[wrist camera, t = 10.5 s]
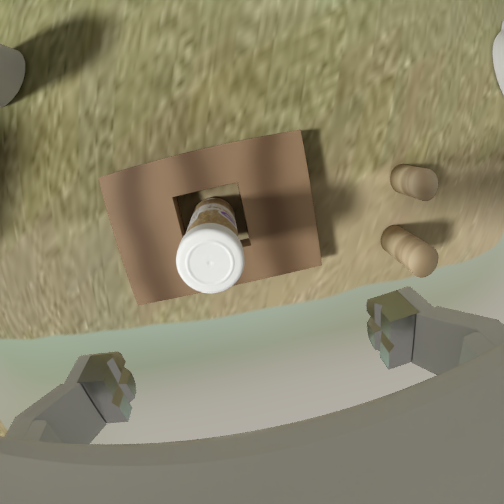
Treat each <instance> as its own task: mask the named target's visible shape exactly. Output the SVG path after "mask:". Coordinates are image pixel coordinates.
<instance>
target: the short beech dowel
mask: <svg viewBox="0 0 504 504" xmlns="http://www.w3.org/2000/svg"><path fill="white" fill-rule="evenodd" d="M390 182H391V185H392V187H393V189H394V190H395V191H397V192H399V193H402V194H405V195H408V196H411V197H414V198H417V199H420V200H422V201H428V200H430V199H432V198H433V197H434V196H435V194H436V193H437V190H438V179H437V176H436V174H435V173H434V172H433V171H432V170H430V169H427V168H421V167H416V166H410V165H405V164H400V165H397V166H396V167H395V168H394V169H393V170H392V172H391V176H390Z"/></svg>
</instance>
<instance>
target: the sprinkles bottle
mask: <svg viewBox="0 0 504 504" xmlns="http://www.w3.org/2000/svg"><path fill="white" fill-rule="evenodd" d="M244 262H245V261H244V251H243V247H242V244H241V242H240V240H239V238H238V231H237V226H236V221H235V213H234V210H233V209H232V207H231V205H230V204H229V203H228V202H227V201H225V200H223V199H220V198H207V199H205V200H203V201H201V202H200V203H199V204H198V205H196V207H195V209H194V211H193V213H192V217H191V220H190V223H189V226H188V228H187V231H186V234H185V235H184V236H183V238H182V240H181V242H180V244H179V247H178V250H177V255H176V265H177V270H178V273H179V275H180V277H181V278H182V279H183V281H184V282H185V283H186V284H187V285H188V286H189V287H191V288H193V289H195V290H197V291H199V292H203V293H218V292H222V291H224V290H227V289H228V288H230V287H231V286H233V285H234V284H235V283H236V282H237V281H238V279H239V278H240V276H241V274H242V272H243V269H244Z"/></svg>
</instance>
